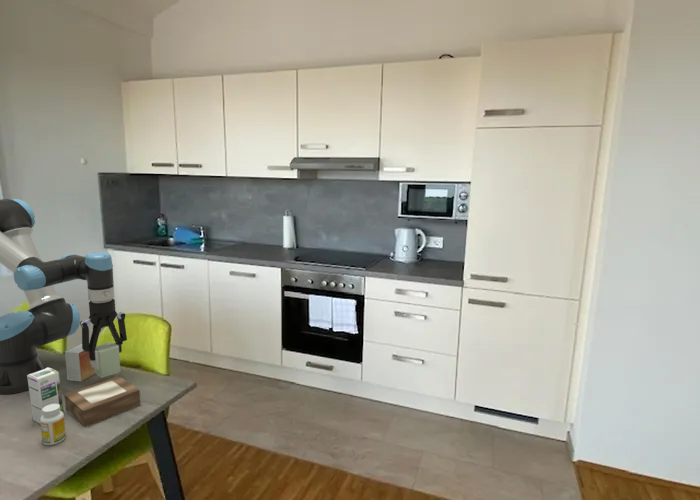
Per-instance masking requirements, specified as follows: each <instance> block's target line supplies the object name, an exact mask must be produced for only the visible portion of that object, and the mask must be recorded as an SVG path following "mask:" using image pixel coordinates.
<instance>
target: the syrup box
mask: <svg viewBox="0 0 700 500" xmlns="http://www.w3.org/2000/svg"><path fill="white" fill-rule="evenodd" d="M27 378H28V385H29V390H28V392H29V398H30V406H31V411H32V412H31V413H32V419H33V421H34V422H35V423H37V424H40V418H41V417H42V415H43V414H42V409H43V408H44V407H45V406H47V405H50V404H59V405H60V411H62V412H63V414H65V413H64V407H63V398H62V389H61V383H60V382H61V380H60V372H59V371H58V370H56V369H54V368H51V367H46V368H44V369H43V370H40V371H38V372H35V373H32V374H29V375H27Z"/></svg>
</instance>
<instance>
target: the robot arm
mask: <svg viewBox="0 0 700 500" xmlns="http://www.w3.org/2000/svg"><path fill="white" fill-rule="evenodd" d="M35 218H36V217H35V212H34V210H33V208H32V207H31V205H29V204H28V202H26V201H24V200H22V199H19V198H3V199H0V264H1V265H2V266H4V267H5V268H6V269H8V270H9V271H11V272H12V273H13V281H14V283H15V285H17V287H18V289H20V290H21V291H23V292H24V295H25V297H26V298H27V301H28V303H29V306H28V308H27V310H22V311H21V310H20V311H16V312H11V313H7V314H3V315H1V316H0V395H10V394H17V393H22V392H25V391H29V385H28V378H27V375H29V374H32V373H35V372H38V371H40V370H43V369H45V368H44V365H43V364H42V363H41V361H40V359H39V357H38V348H40V347H42V346H45V345H48V344H50V343H53V342H57V341H58V340H59V341H60V340H64V339H65V338H67V337H69V336H72V335H74V334H75V333H76V332H77V331H78V330H79V326H80V327H81V343H82V349H83V350H84V351H86V352H88V351H89V356H90V360H92V361H93V368H95V369H96V370H99V360H98V351H97V350H95V349H96V346H98V340H99V336H100V333H101V331H102V329H103V328H106V327H108V329H109V331H110V333H111V336H112V337H113V340H114V342H112V343H113V344H115V345H116V346H118V347H119V354H120V353H122V350H123V349H122V345H123V344H124V343H123V342H125V341H127V339H128V338H127V337H128V336H127V331H126V330H127V329H126V322H125V320H126V313H124V312H122V311H120V312H117V311H116V299H115V297H116V296H115V287H114V265H113V259H112V255H111V254H110V253H109V252H105V251H102V252H101V251H97V252H95V251H94V252H90V253H87V254H86V255H85V256H82V255H78V254H66V255H63V256H62V257H60V258H59V259H54V260H49V261H43V260H42V259H41V257H40V255H39V253H38V250H37V248H36V246H35V243H34V241H33V239H32V237H31V234H32V233H33V232H34V231H33V230H34V229H33V227H34V226H35V224H36V219H35ZM74 280H83V281H86V284H87V295H88V296H87V297H88V300H89V302H88V309H89V316H88V319H86V320H81V315H80V312H79V310H78V308H77V306H76V305H75V304H74V303H73V302H67V301H66V300H65V297H63V296H60V295H58V294H57V292H56V289H55V287H54V285H58V284H62V283H66V282H71V281H74ZM115 319H117V325H118V330H117V328H116V325H115V323H114V321H115ZM90 324H92V331H91V336H90ZM118 331H119V333H118ZM119 358H120V356H119Z"/></svg>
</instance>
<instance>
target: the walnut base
mask: <svg viewBox="0 0 700 500" xmlns="http://www.w3.org/2000/svg"><path fill="white" fill-rule="evenodd" d="M140 393H141V391H140V389H139V388H137V387H136V386H134V385H133V384H131V383H130V382H128V381H127V380H125V379H124V378H123V377H121V376H120V375H117V376H114V377H111V378H108V379H106V380H103V381H102V380H101V381H100V382H97V383H93V384H91V385H87V386H84V387H81V388H78V389H76V390H72V391H70V392H67V393H64V403H65V410H66V411H67V412H68V413H69V414H70V415H71V416H72V417H74V419H75V420H77V422H79V423H80V424H81V425H82V426H83V427H84V428H86V427H89V426H91V425H94V424H96V423H98V422H101V421H103V420H107V419H109V418H111V417H114V416H116V415H118V414H122V413H124V412H126V411H128V410H131V409H134V408H136V407H138V406H141V394H140Z"/></svg>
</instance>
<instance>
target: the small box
mask: <svg viewBox="0 0 700 500" xmlns="http://www.w3.org/2000/svg"><path fill="white" fill-rule="evenodd" d="M64 357H65V366H66V367H65V369H66V378H67V381H71V382H80V383H83V381H84V380H86V379H89V378H90V377H92V376H93V375H96V373H95V372H94V368H93V361H92V360H90V356H89V351H88V352H86V351H84V350H83V349H82V342H81V343H80V344H79V345H76V346H74V347H73V348H70V349H67V350H66V351H64Z"/></svg>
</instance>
